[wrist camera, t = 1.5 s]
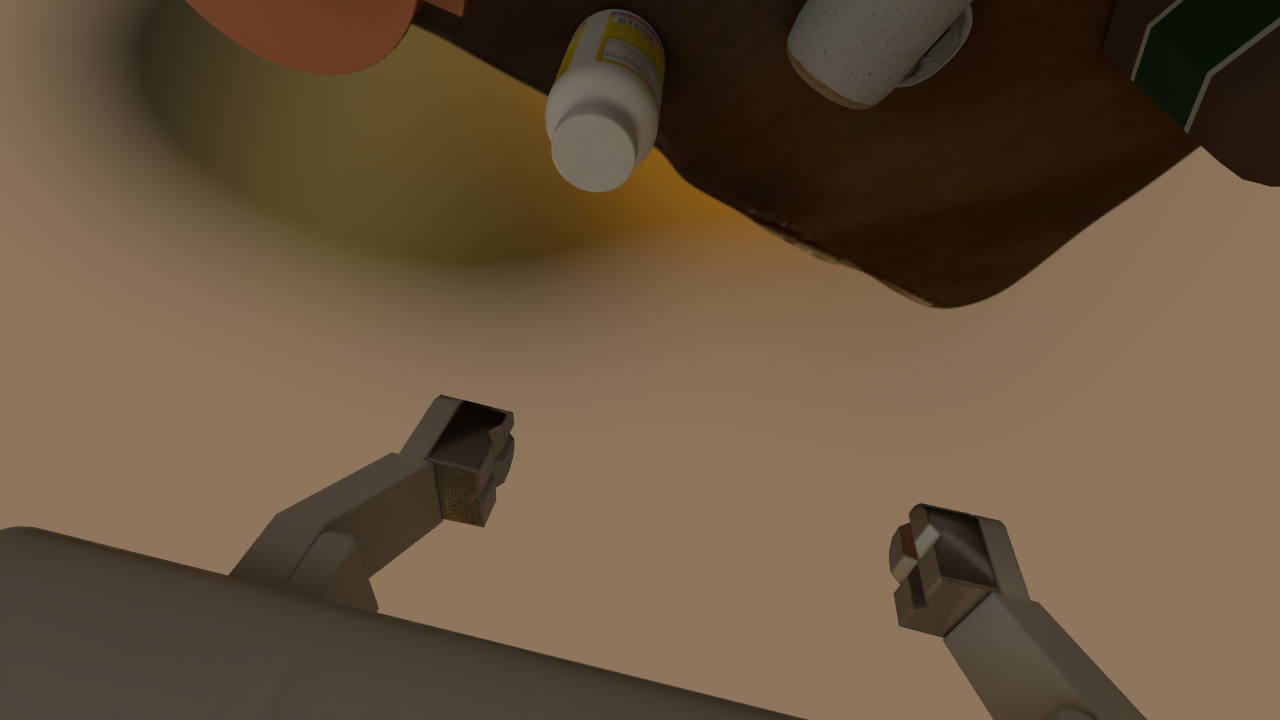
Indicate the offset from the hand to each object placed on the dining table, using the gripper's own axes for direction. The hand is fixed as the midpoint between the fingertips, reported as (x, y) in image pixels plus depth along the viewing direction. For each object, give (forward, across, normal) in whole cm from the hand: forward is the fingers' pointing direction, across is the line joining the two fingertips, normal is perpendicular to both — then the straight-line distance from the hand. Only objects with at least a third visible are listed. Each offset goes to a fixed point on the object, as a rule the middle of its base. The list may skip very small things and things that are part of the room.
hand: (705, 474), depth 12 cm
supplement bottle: (+36, +9, +2) cm, 37 cm away
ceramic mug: (+37, -7, -4) cm, 38 cm away
